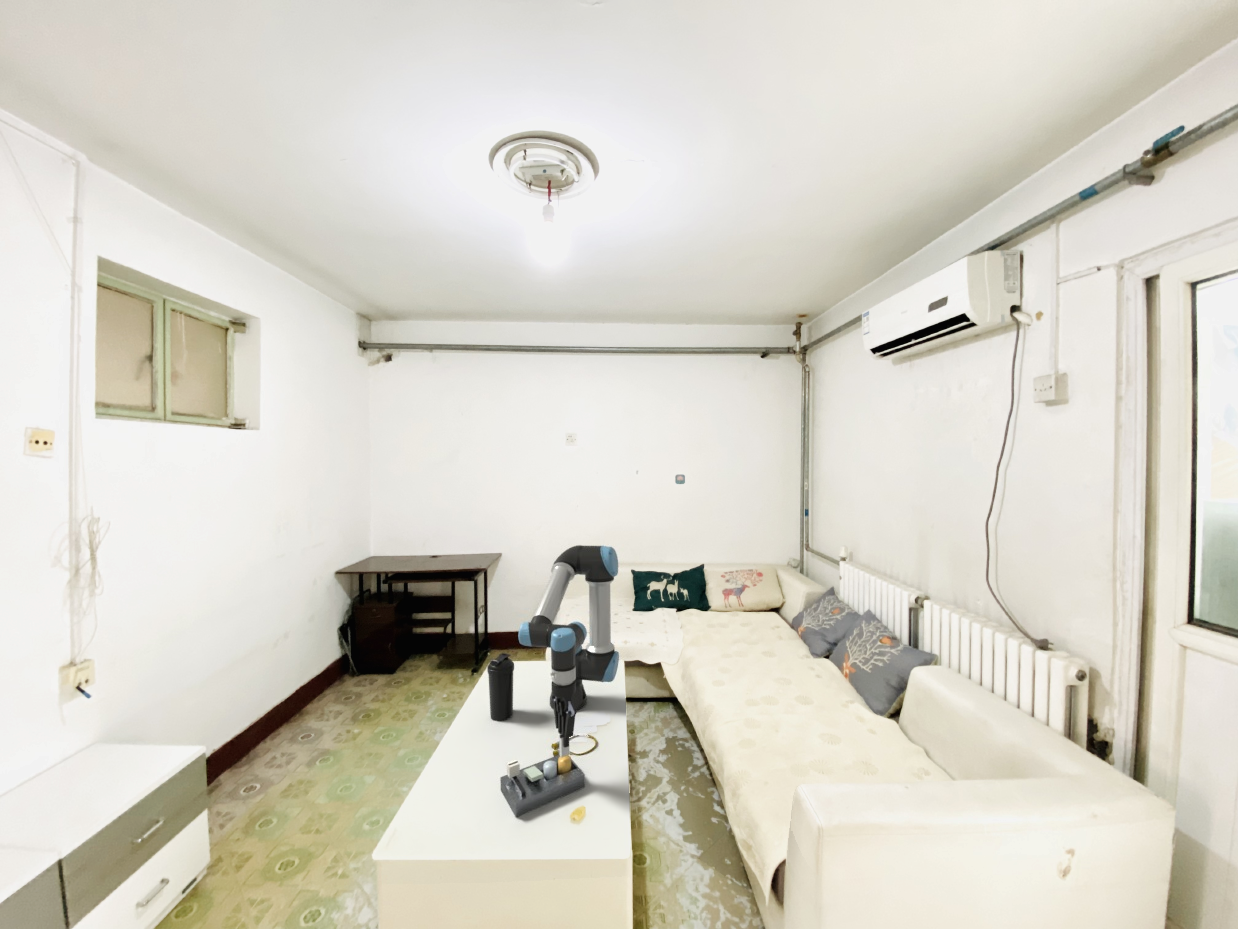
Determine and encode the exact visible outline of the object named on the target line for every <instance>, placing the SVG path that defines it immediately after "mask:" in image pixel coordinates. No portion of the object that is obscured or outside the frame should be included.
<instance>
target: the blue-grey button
mask: <svg viewBox="0 0 1238 929" xmlns="http://www.w3.org/2000/svg"><path fill="white" fill-rule="evenodd" d="M543 767H544V778H545V780H546V781H548V780H550V779H552V778H555V777H557V763H556V762H555V761H547V762H545V763H544V765H543Z"/></svg>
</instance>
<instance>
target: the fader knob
mask: <svg viewBox="0 0 1238 929" xmlns="http://www.w3.org/2000/svg"><path fill="white" fill-rule="evenodd" d="M520 766H521V764H520V762H519V761H518V759H515V760H512V761H509V762H507V763H506V775H508V776H509V778H511V777H514V776H516V775H519V774H520V770H521V769H520V768H521V767H520Z"/></svg>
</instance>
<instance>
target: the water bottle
mask: <svg viewBox="0 0 1238 929" xmlns="http://www.w3.org/2000/svg"><path fill="white" fill-rule="evenodd" d="M510 657H511V654H509V653H503V652H502V653H500V654H498V656H497V657H496V658H493V659H491V660H490V661H489V663H488V665H487V669H486V670H487V674H488V691H489V692H488V693H489V709H490V710H489V712H490V719H491V720H492V721H495V722H503V721H507V720H509V719H510V718H512V717H513V714H514V709H513V708H514V670H515V663H514V661H513V660H512V659H511V658H510Z"/></svg>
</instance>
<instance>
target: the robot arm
mask: <svg viewBox="0 0 1238 929" xmlns="http://www.w3.org/2000/svg"><path fill="white" fill-rule="evenodd" d="M550 571H551V575H550V577H549V580H548V582H547V584H546V586H545V588H544V591H543V593H542V595H541V597H540V600H539V603H538V605H537V607H536V609H535V612H534V614H533V615H532V616H533V617H532V618H531V620H530V621H527V622H525V621H524V622H523V623H521V624H520V626H519V630H518V635H517V636H518V641H519V644H520V645H522V646H526V647H532V648H535V647H536V648H548V649H549V648H550V654H551V656H550V657H551V660H550V661H551V672H550V676H551V692H550V697H549V707H550V708H552V710H553V713H554V723H555V729H557V732H558V734H559V736H558V738H559V740H558V742H559V747H558V750H560V756H561V758H562V757H565V756H567V755H569V756H570V754H569V751H570V739H569V737H571V736H573V735H574V729H575V722H576V715H577V713H578V712H577V711H578V710H581V709H583V708H585V706H586V705H587V702H588V701H587V699H588V698H587V692H586V690H585V687H584V684H583V681H587V682H588V681H589V682H600V683H611V682H614V680H615V678H616V675H617V671H618V668H619V661H620V654H619V651H617V650H615V648H616V647H615V645H614V643H613V642H612V641H611V640H612V639H611V638H612V637H611V636H612V635H611V634H612V633H611V628H612V627H611V624H612V623H611V621H612V619H611V584H612V582H613V581H614V580H615V577H616V576H618V574H619V559H618V554H617V551H616V549H615V548H614V547H612V546H606V545H581V544H579V545H574V546H571V547H569V548H567V549H566V550H564V551H563V552H562V553H561V554H560V555H559V556H558V557H557V558H556V559H555V560H554V562H553V564H552V565H551V569H550ZM578 575H582V576H585V577H584V581H585V582H586V583H587V584H588V608H589V611H588V614H589V615H588V616H589V621H588V622H589V627H588V628H589V642H588V643H587V645H586V646H585V648H583V646H582V645H583V644H584V643H585V640H586V639H587V635H588V632H587V631H588V630H587V628H586V626H585V625H584V624H583V623H581V622H580V621H572V622H570V623H569V624H556V623H554V622H555V620H556V617H557V614H558V612H559V610H560V607H561V604H562V601H563V599H564V597H565V595H566V592H567V589H568V587H569V584H570V582H571V581H572V580H574V578H575V576H578Z"/></svg>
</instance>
